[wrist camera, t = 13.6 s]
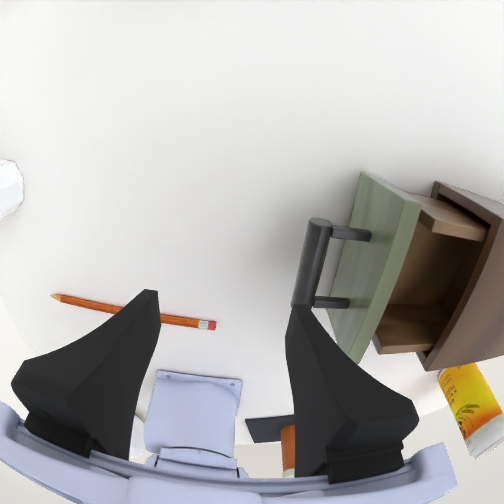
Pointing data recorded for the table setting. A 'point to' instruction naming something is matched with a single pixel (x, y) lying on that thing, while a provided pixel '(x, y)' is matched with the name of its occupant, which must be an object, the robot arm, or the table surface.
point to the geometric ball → (137, 439)
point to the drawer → (392, 268)
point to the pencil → (114, 309)
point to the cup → (10, 188)
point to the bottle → (288, 450)
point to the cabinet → (474, 292)
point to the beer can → (473, 408)
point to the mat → (268, 428)
